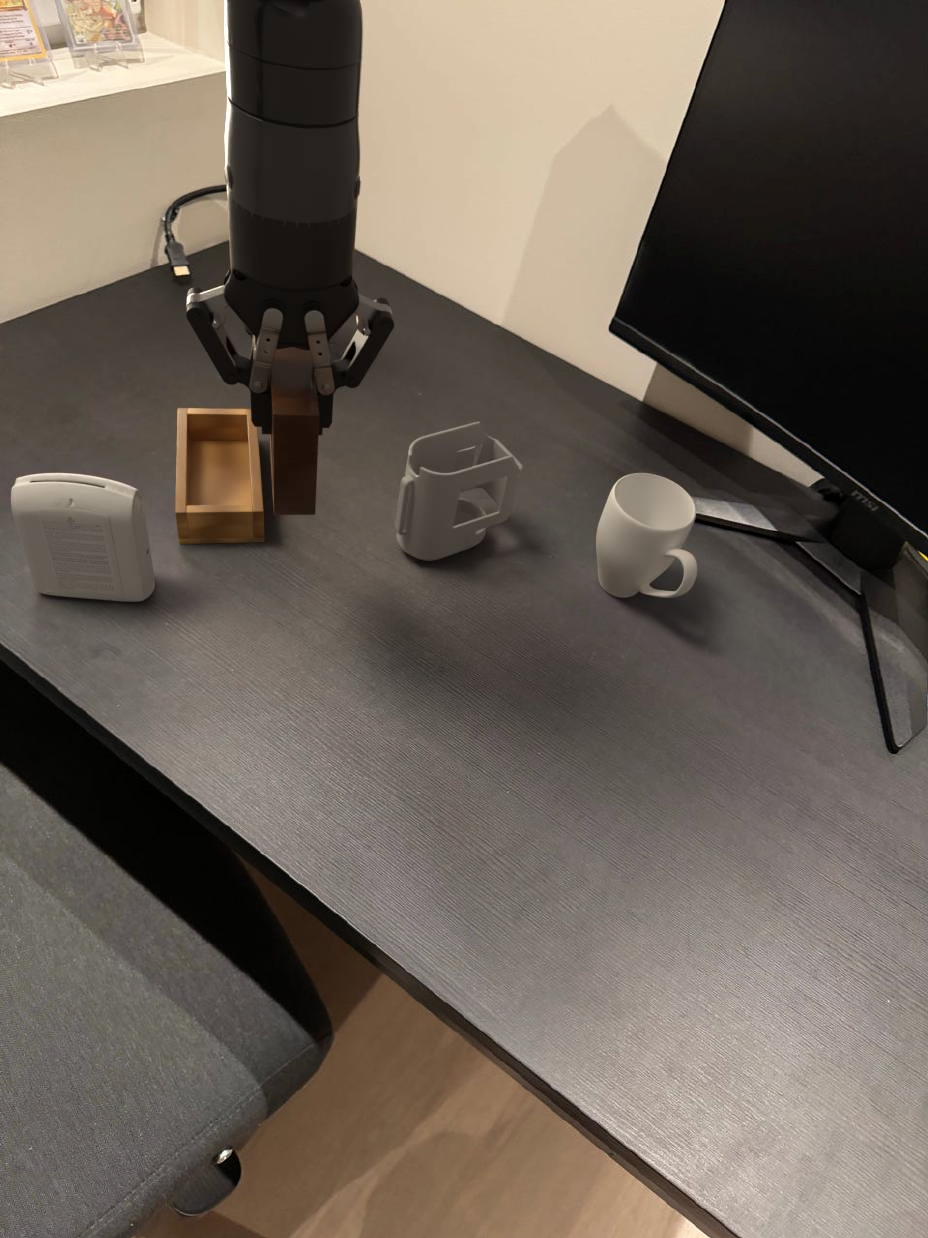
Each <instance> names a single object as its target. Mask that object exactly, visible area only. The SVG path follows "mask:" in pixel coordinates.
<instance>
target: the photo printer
mask: <svg viewBox="0 0 928 1238" xmlns="http://www.w3.org/2000/svg"><path fill="white" fill-rule="evenodd" d="M10 507H11V508H10V509H11V513H12V517H13V521H14V524H15V527H16V530H17V535H18V537H19V539H20V543H21V547H22V549H23V553H24V557H25V560H26V564H27V566H28V570H29V573H30V577H31V580H32V583H33V586H34V589H35V591H36V592H38V593H39V594H44V595H49V596H56V597H66V598H78V599H88V600H89V599H90V600H100V601H101V600H102V601H113V602H130V603H131V602H133V603H134V602H143V601H145V600H146V599H148V598H149V597H150V596H151V595H152V594H153V592H154V590H155V587H156V581H155V574H154V567H153V560H152V553H151V546H150V539H149V533H148V532H149V531H148V527H147V526H148V525H147V521H146V519H147V518H146V513H145V509H144V504H143V499H142V495H141V492H140V490H139V489H138V488H135V487H134V486H131V485H129V484H126V483H123V482H120V481H117V480H114V479H109V478H105V477H100V476H95V475H89V474H81V473H67V472H43V473H34V474H27V475H23V476H19V477H17V478H16V479H15V482H14V484H13V486H11V491H10Z"/></svg>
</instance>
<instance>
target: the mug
mask: <svg viewBox="0 0 928 1238" xmlns="http://www.w3.org/2000/svg"><path fill="white" fill-rule="evenodd" d="M696 517H697V508H696V505H695V501H694V500H693V498H692V497H691V495H690V494H689V493H688V492H687V491H686V489H684V487H682V486H681V485H679V484H678V483H676V482H675V481H673V480H671V479H669V478H667V477H664V476H662V475H658V474H654V473H648V472H636V473H630V474H626V475H624V476H622V477H620V478H619V479H618V480H617V481H616V482H615V483H614V484H613V486H612V488H611V490H610V492H609V495H608V497H607V500H606V502H605V506H604V507H603V510H602V513H601V515H600V517H599V520H598V523H597V529H596V535H595V552H596V554H595V555H596V565H597V566H596V567H597V577H598V583H599V585H600V586H601V588H602V589H603V590H604V591H605V592H606V593H608V594H609V595H611V596H613V597H616V598H623V599H625V598H630V597H631V598H632V597H633V596H635V595H636V594H638V593H640V594H643V595H646V596H650V597H656V598H663V599H666V598H667V599H672V598H677V597H681V596H684V595H685V594H687V593H688V592H689V591H690V590H691V589H692V588H693V586H694V585H695V582H696V580H697V577H698V563H697V560H696V557H695V556H694V554H692V553H691V552H689V551H688V550H684V549H682V548H683V546H684V544H685V542H686V541H687V538H688V537H689V534H690V532H691V531H692V528H693V526H694V524H695V520H696ZM676 559H678V560H679V561H680V562H681V564H682V569H683V578H682V581H681V584H680V585H679V587H678V588H677V589H676V590H662V589H657V588H653V587H652V586H651V585H650V584H651V583H652V582H653V581H655V580H656V579H657V578H658V577H659V576H661V575H662V574H663V573H664V572H665V571H667V569H669V567H671V565H672V564H673V563H674V561H675V560H676Z"/></svg>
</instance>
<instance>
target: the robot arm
mask: <svg viewBox="0 0 928 1238" xmlns="http://www.w3.org/2000/svg"><path fill="white" fill-rule="evenodd" d="M223 16H224V19H223V20H224V22H223V23H224V48H225V49H224V51H225V71H226V72H225V73H226V91H227V93H226V94H227V95H226V118H225V129H224V152H225V153H224V155H225V157H224V158H225V164H224V165H225V166H224V180H225V184H226V193H227V197H226V199H227V217H228V218H227V219H228V241H229V260H230V263H229V264H230V266H229V269H228V270H227V273H226V275H225V276H224V279H223V285H221V286H218V287H214V288H211V289H209V290H206V291H205V290H204V289H203V288H201V287H191V288H190V289H189V290H188V291H187V293H186V307H185V310H186V312H185V313H186V314H185V316H186V320H187V321H188V323H189V325H190V326H191V328H192V330H193V331H194V334H195V335H196V337H197V338H198V340H199V342H200V343H201V345H202V347H203V349H204V350H205V352H206V354H207V357H209V359H210V361H211V362H212V364H213V366H214V368H215V370H216V371H217V373H218V374H219V376H220V378H221V380H222V382H224V383H225V384H227V385H229V386H230V385H231V386H233V385H237V384H240V385H243V386H246V387H247V389H248V390H249V394H250V409H251V421H252V423H253V425H254V427H258V428H261V435H269V434H272V427H271V389H270V372H271V367H273V363H274V358H275V353H276V349H284V348H290V347H295V348H299V349H302V350H310V352H311V358H312V363H313V368H314V374H315V382H316V391H317V400H318V408H319V436H323V430H324V429H330V427H331V425H332V423H333V413H334V412H333V409H334V395H335V392H336V391H337V390H338V389H341V388H343V387H347V388H350V389H356V388H358V387H359V386H360V385H361V383H362V382H363V380H364V378H365V377H366V375H367V374H368V372H369V370H370V368H371V366H372V365H373V363H374V362H375V360H376V358H377V357H378V355H379V353H380V352H381V350H382V348H383V347H384V345H385V343H386V342H387V340H388V339H389V337H390V335H391V333H392V332H393V330H394V328H395V321H394V317H393V312H392V309H391V303H390V302H389V300H388V299H387V298H385V297H378V298H375V299H374V300H373V299H371V298H369V297H367V296H365V295H363V294H361V293H359V290H358V289H359V288H358V285H357V283H356V281H355V279H354V263H355V262H354V261H355V249H356V247H355V246H356V235H357V234H356V233H357V217H358V201H359V196H360V193H361V188H362V187H361V186H362V180H361V176H360V172H361V171H360V170H361V138H360V137H361V136H360V123H359V122H360V120H359V118H360V111H359V110H360V98H361V84H362V83H361V82H362V67H363V66H362V65H363V52H364V51H363V50H364V15H363V7H362V4H361V0H224V15H223ZM228 307H230V309H231V310H232V311H233V312H234V313H235V315H236V316H237V317H238V318H239V320H240V321H241V322H242V324H243V323H244V324H245V325H246V327H247V328H248V329H249V330H250V331H251V333H252V334H253V335H252V342H251V343H252V344H251V348H250V349H251V350H250V355H249V358H248V357H245V356H243V355H240V353H239V351H238V350H237V347H236V346H235V344H234V342H233V341H232V339H231V337H230V334H229V333H228V331H227V329H226V328H225V326H224V325H225V323H226V309H227V308H228ZM353 314H356V316H355V323H356V328H357V329H356V331H355V333H354V335H353V337H352V338H351V340H350V342H349V344H348V345H347V347H346V349H345V351H344V353H343V354H342V356H341V357H340V359H338V360H334V361H332V359H331V353H330V347H329V341H330V340H331V339H332V338H333V337H334V336H335V335H336V333H338V331H339V330H340V329H341V328H342V327H343V326H344V324H345V323H347V322H348V320H349V319H350V318H351V317H352V316H353Z"/></svg>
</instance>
